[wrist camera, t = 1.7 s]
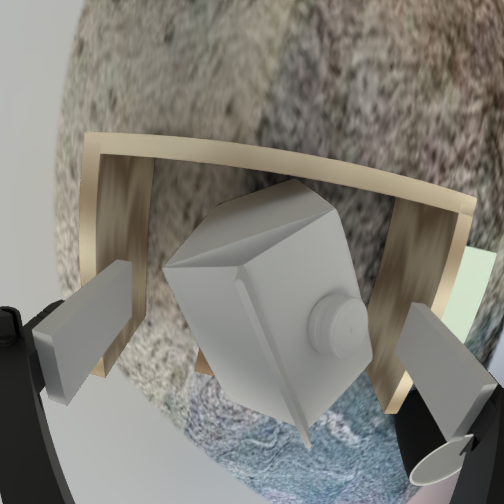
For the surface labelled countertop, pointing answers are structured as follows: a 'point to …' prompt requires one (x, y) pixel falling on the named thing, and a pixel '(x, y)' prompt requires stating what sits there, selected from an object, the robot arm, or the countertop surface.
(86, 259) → the frame
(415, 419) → the mug
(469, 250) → the mat
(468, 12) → the countertop surface
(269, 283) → the milk carton
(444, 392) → the robot arm
